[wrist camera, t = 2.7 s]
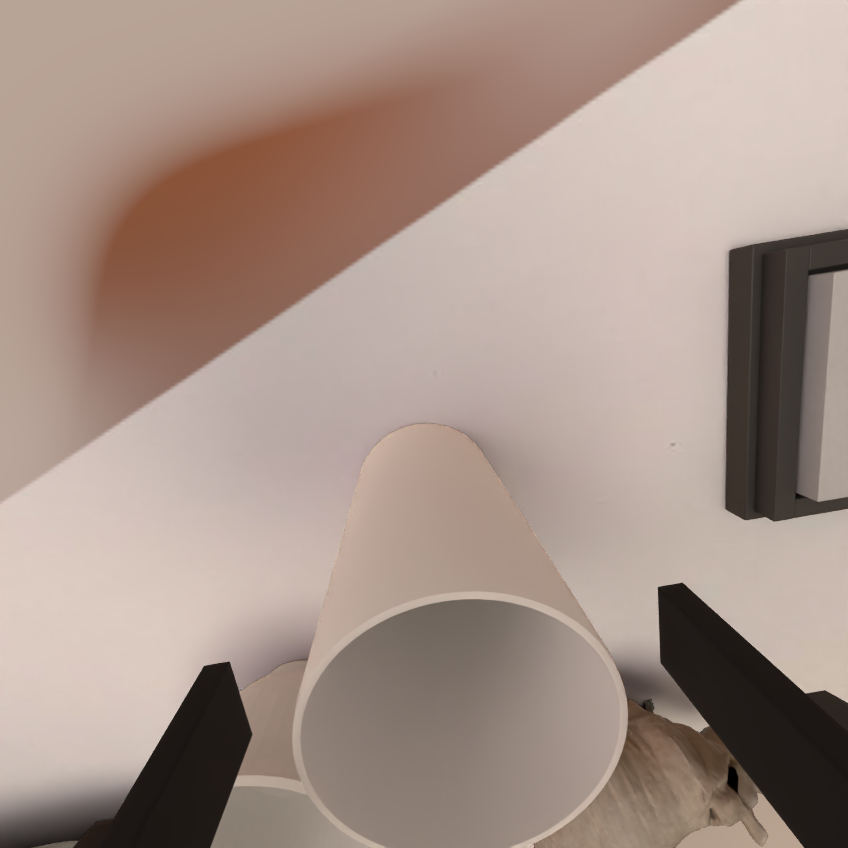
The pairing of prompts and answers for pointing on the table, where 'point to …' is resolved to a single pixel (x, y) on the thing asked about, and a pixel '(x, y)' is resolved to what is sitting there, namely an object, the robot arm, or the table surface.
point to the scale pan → (824, 390)
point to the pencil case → (59, 845)
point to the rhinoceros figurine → (663, 790)
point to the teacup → (274, 777)
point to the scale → (771, 372)
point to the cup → (451, 665)
